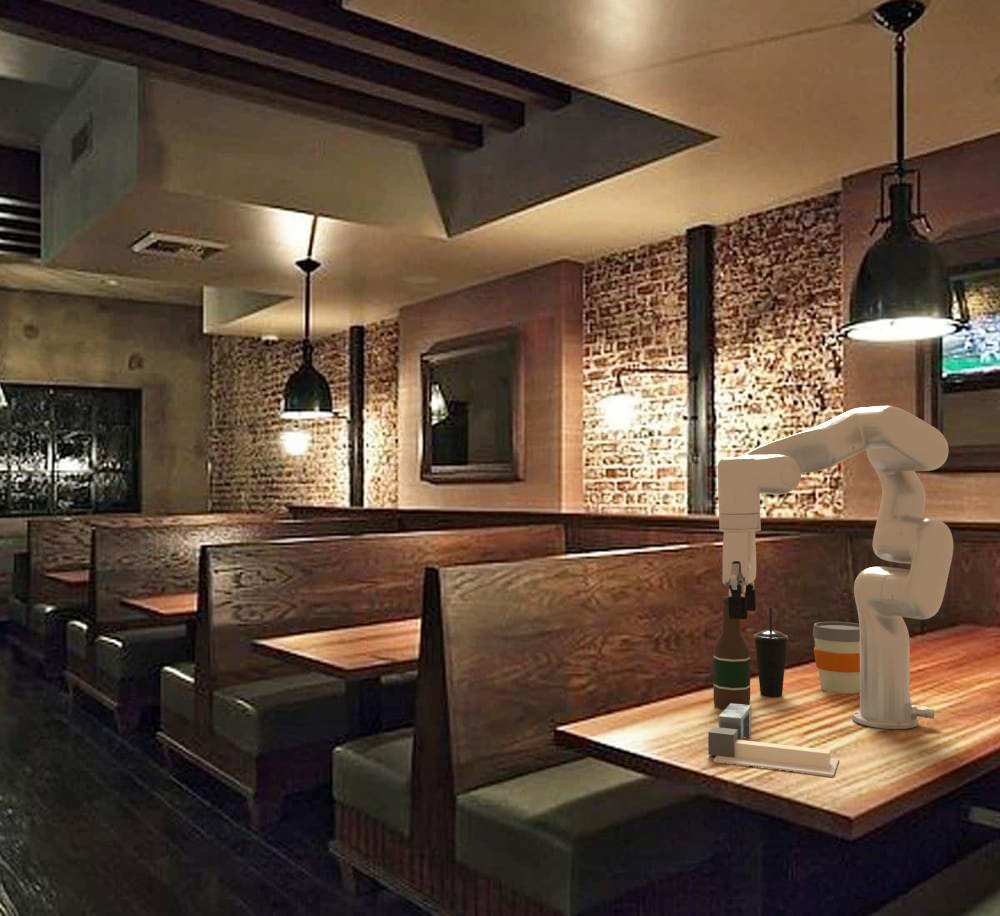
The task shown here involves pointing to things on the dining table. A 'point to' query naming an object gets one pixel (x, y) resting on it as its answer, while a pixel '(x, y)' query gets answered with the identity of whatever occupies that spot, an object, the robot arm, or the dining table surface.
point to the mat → (781, 765)
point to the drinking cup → (771, 660)
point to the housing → (737, 719)
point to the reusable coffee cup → (838, 656)
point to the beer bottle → (731, 664)
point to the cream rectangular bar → (763, 749)
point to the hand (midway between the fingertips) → (742, 614)
